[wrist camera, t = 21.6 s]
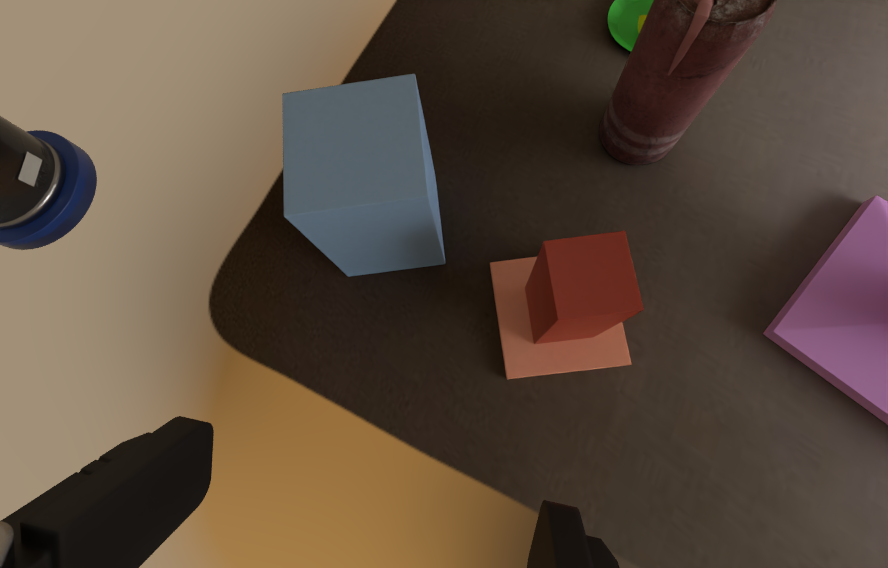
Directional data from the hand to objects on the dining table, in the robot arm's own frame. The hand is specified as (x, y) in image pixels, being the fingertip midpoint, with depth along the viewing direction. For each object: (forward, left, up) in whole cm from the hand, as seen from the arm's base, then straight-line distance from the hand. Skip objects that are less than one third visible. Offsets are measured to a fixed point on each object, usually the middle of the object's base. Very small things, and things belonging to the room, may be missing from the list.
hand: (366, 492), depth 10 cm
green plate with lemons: (+23, +32, -22) cm, 45 cm away
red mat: (+10, +7, -22) cm, 25 cm away
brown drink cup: (+19, +21, -22) cm, 36 cm away
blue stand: (-2, +16, -22) cm, 28 cm away
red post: (+10, +7, -21) cm, 25 cm away
